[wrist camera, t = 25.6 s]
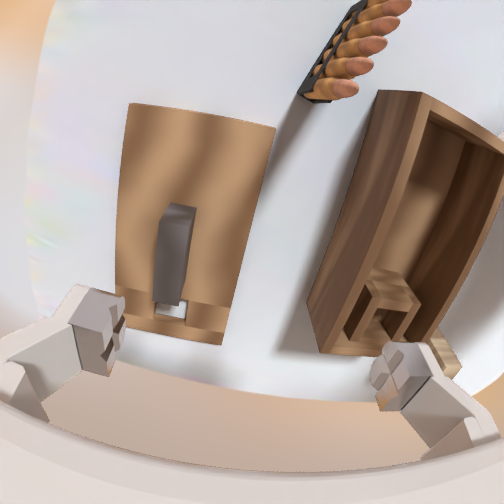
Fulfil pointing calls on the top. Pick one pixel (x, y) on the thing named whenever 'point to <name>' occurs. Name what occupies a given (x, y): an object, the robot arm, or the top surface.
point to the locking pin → (444, 354)
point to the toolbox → (406, 225)
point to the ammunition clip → (352, 49)
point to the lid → (185, 216)
